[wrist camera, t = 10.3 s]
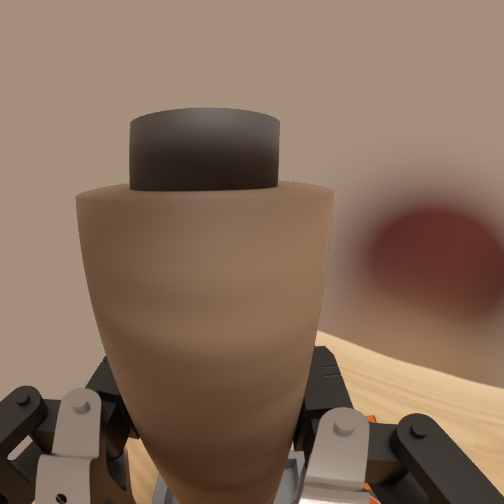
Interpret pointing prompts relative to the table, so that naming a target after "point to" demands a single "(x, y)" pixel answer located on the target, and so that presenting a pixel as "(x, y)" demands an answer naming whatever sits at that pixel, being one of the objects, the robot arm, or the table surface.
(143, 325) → the pepper mill
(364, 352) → the table surface
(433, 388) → the table surface
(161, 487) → the tray
